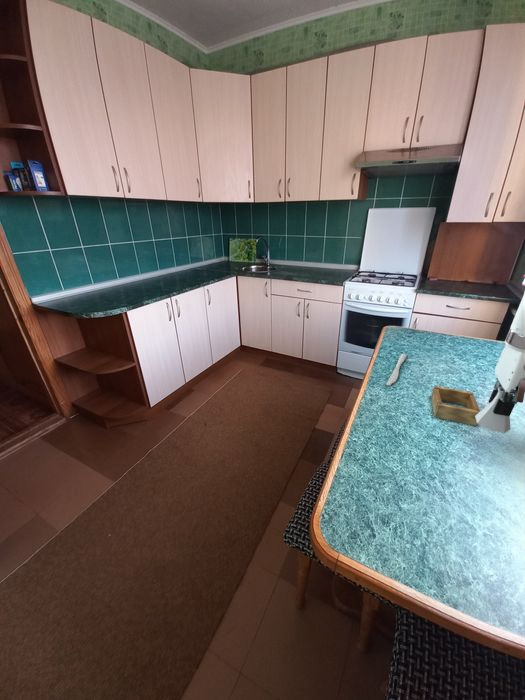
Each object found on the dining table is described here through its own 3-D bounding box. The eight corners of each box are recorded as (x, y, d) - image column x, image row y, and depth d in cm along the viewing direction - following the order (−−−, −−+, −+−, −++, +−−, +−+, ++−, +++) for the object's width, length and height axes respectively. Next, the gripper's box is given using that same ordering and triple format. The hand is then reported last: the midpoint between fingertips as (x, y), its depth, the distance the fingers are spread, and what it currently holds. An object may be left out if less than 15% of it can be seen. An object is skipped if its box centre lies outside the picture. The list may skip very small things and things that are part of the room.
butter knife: (409, 354, 118) (402, 352, 120) (392, 386, 99) (383, 383, 100) (409, 356, 118) (401, 353, 120) (392, 388, 99) (383, 385, 101)
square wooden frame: (468, 404, 90) (472, 392, 88) (476, 425, 82) (481, 413, 80) (430, 397, 94) (434, 385, 92) (434, 417, 85) (438, 405, 83)
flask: (508, 438, 68) (525, 403, 63) (471, 424, 72) (485, 391, 67) (511, 422, 72) (527, 389, 68) (477, 410, 77) (490, 378, 72)
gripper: (571, 361, 54) (530, 436, 62) (535, 328, 67) (506, 393, 76) (521, 354, 56) (489, 427, 65) (496, 324, 70) (472, 387, 78)
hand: (498, 408), depth 70 cm, fingers closed on flask, 3 cm apart
